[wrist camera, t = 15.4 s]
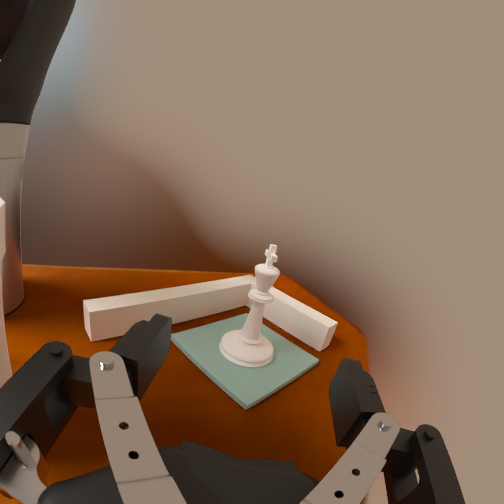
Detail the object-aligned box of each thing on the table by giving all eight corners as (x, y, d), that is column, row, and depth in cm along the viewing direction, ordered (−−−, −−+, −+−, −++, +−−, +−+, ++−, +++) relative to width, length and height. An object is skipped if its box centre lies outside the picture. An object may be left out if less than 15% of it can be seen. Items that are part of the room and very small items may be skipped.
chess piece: (264, 336, 28) (291, 241, 25) (279, 367, 23) (315, 260, 20) (215, 333, 26) (236, 232, 24) (223, 367, 22) (250, 251, 19)
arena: (84, 328, 22) (83, 300, 21) (245, 295, 37) (250, 274, 36) (164, 451, 13) (164, 424, 12) (336, 349, 28) (345, 326, 28)
